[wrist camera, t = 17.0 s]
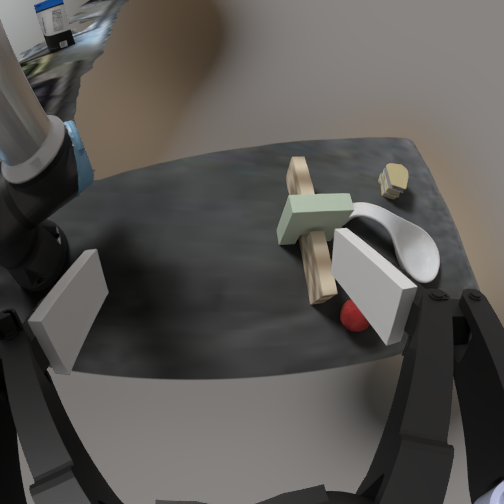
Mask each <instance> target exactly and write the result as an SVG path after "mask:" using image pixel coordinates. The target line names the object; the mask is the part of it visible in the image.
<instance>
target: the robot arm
mask: <svg viewBox="0 0 504 504" xmlns="http://www.w3.org/2000/svg"><path fill="white" fill-rule="evenodd" d="M0 158H1V159H2V167H1V168H2V172H1V173H0V265H1V266H3V267H4V268H6V269H7V270H8V271H9V272H10V274H11V275H12V276H13V278H14V279H15V280H16V282H17V283H18V284H19V285H20V286H22V287H23V288H25V289H27V290H30V291H33V292H38V291H42V290H44V289H46V288H48V287H49V286H51V285H52V284H53V283H54V282H55V281H56V279H57V278H58V277H59V275H60V273H61V271H62V269H63V267H64V264H65V261H66V257H67V240H66V237H65V234H64V232H63V231H62V229H61V228H60V227H58V226H57V225H56V224H55V223H54V222H52V221H50V220H47V218H48V217H49V216H50V215H52V214H53V213H54V212H56V211H57V210H58V209H60V208H61V207H63V206H64V205H65V204H67V203H68V202H69V201H71V200H72V199H74V198H75V197H77V196H79V195H80V193H81V192H82V191H83V190H85V189H86V188H87V187H89V186H90V185H91V184H92V182H93V179H94V173H93V169H92V166H91V164H90V161H89V158H88V156H87V153H86V151H85V148H84V146H83V143H82V140H81V137H80V135H79V133H78V130H77V128H76V126H75V124H74V122H73V121H68V122H64V123H63V122H62V121H61V120H60V119H59V118H58V117H56V116H53V115H46V114H45V112H44V110H43V108H42V107H41V105H40V103H39V101H38V99H37V98H36V96H35V94H34V92H33V90H32V88H31V86H30V84H29V82H28V81H27V79H26V77H25V75H24V73H23V71H22V69H21V66H20V64H19V62H18V60H17V58H16V56H15V54H14V52H13V49H12V47H11V45H10V42H9V40H8V38H7V35H6V33H5V30H4V28H3V25H2V23H1V20H0ZM331 274H332V275H333V276H334V278H335V279H336V280H337V281H338V283H339V284H340V285H341V286H342V288H343V289H344V290H345V292H346V293H347V294H348V295H349V297H350V298H351V299H352V301H353V302H354V303H355V304H356V306H357V307H358V308H359V310H360V311H361V312H362V314H363V315H364V316H365V318H366V319H367V320H368V322H369V323H370V324H371V326H372V327H373V328H374V330H375V331H376V332H377V334H378V335H379V336H380V338H381V339H382V340H383V342H384V343H385V344H386V346H387V345H390V344H394V343H397V342H401V339H402V336H403V333H404V330H405V331H406V333H407V334H408V335H409V337H408V340H407V343H406V345H405V348H404V351H403V353H402V355H403V356H404V358H403V363H402V367H401V372H400V376H399V380H398V384H397V388H396V392H395V395H394V399H393V402H392V406H391V409H390V413H389V416H388V420H387V422H386V425H385V428H384V431H383V434H382V438H381V440H380V443H379V446H378V448H377V451H376V454H375V456H374V459H373V461H372V464H371V466H370V469H369V471H368V473H367V475H366V477H365V478H364V480H363V482H362V483H361V485H360V487H359V488H358V490H357V492H356V494H352V493H347V492H340V491H326V490H325V487H324V485H319V486H315V487H311V488H307V489H302V490H298V491H293V492H288V493H283V494H280V495H278V496H276V497H273V498H270V499H268V500H265V501H262V502H259V503H257V504H443V501H444V498H445V494H446V490H447V486H448V482H449V478H450V473H451V468H452V463H453V457H454V448H453V446H452V445H448V444H447V437H448V429H449V422H450V414H451V402H452V389H453V377H454V381H455V386H456V390H457V395H458V400H459V405H460V411H461V416H462V423H463V430H464V437H465V445H466V455H467V470H468V483H469V492H470V497H471V503H472V504H504V328H503V326H502V324H501V323H500V321H499V319H498V317H497V315H496V313H495V312H494V310H493V309H492V307H491V305H490V304H489V302H488V300H487V298H486V297H485V296H484V295H483V294H482V293H481V292H480V291H478V290H476V289H465V290H463V292H462V295H461V298H460V299H450V297H449V295H448V294H447V293H445V292H443V291H442V290H439V289H434V288H429V289H426V288H425V287H423V286H422V285H421V284H420V283H419V282H418V281H416V280H415V279H414V278H412V276H411V275H409V274H408V273H407V272H406V271H405V270H403V269H402V268H401V267H399V266H397V265H395V264H393V263H390V262H388V261H387V260H386V259H385V258H384V257H382V256H381V255H380V254H379V253H378V252H376V251H375V250H374V249H373V248H371V247H370V246H369V245H368V244H366V243H365V242H364V241H363V240H361V239H360V238H359V237H358V236H356V235H355V234H354V233H353V232H351V231H350V230H349V229H347V228H340V229H335V231H334V244H333V255H332V266H331ZM108 293H109V292H108V289H107V285H106V282H105V278H104V275H103V271H102V267H101V263H100V260H99V256H98V251H97V249H92V250H85V251H84V252H83V253H82V254H81V256H80V257H79V258H78V259H77V260H76V261H75V262H74V263H73V265H72V266H71V267H70V268H69V269H68V270H67V272H66V273H65V274H64V275H63V276H62V277H61V279H60V280H59V281H58V282H57V284H56V285H55V286H54V287H53V288H52V290H51V291H50V292H49V293H48V295H46V296H45V297H44V298H42V299H41V300H40V301H39V303H38V304H37V305H36V307H35V308H34V309H33V311H32V312H31V313H30V315H29V316H28V317H27V319H26V320H25V321H24V323H23V324H22V323H21V321H20V319H19V317H18V315H17V313H16V311H15V309H12V308H11V309H6V310H3V311H1V312H0V504H27V502H26V497H25V493H24V488H23V483H22V477H21V470H20V462H19V454H18V443H17V433H18V436H19V440H20V443H21V446H22V449H23V452H24V455H25V458H26V460H27V463H28V465H29V468H30V471H31V473H32V476H33V478H34V481H35V483H34V484H32V485H30V489H29V490H30V493H31V496H32V498H33V501H34V502H35V504H124V503H122V502H121V500H120V499H119V498H118V497H117V496H116V494H115V493H114V492H113V490H112V489H111V488H110V487H109V485H108V483H107V482H106V481H105V479H104V478H103V476H102V475H101V473H100V472H99V471H98V469H97V467H96V466H95V464H94V463H93V461H92V459H91V458H90V456H89V454H88V453H87V451H86V449H85V448H84V446H83V444H82V442H81V440H80V439H79V437H78V435H77V433H76V431H75V429H74V427H73V425H72V424H71V421H70V419H69V417H68V416H67V413H66V411H65V409H64V407H63V405H62V403H61V400H60V398H59V396H58V393H57V391H56V389H55V386H54V384H53V382H52V379H51V376H50V375H49V373H48V371H47V368H48V366H49V364H50V365H51V367H52V368H53V370H54V372H55V373H56V374H65V375H70V373H71V370H72V368H73V365H74V363H75V361H76V358H77V356H78V354H79V352H80V349H81V347H82V345H83V343H84V341H85V339H86V336H87V334H88V332H89V330H90V328H91V326H92V324H93V322H94V320H95V318H96V316H97V314H98V312H99V310H100V308H101V306H102V304H103V302H104V300H105V298H106V296H107V295H108ZM156 504H206V503H201V502H197V501H165V500H164V501H163V500H156Z"/></svg>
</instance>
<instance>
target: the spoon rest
mask: <svg viewBox="0 0 504 504" xmlns="http://www.w3.org/2000/svg"><path fill="white" fill-rule="evenodd" d="M353 207H354V211H353V213H352V214H351V215H350V216H349V218H348V219H347V220H346V222H345V223H344V224H343V225H345V224H346V223H347V222H348V221H350V220H351V219H352V218H355V217H366V218H369V219H372V220H374V221H376V222H378V223H380V224H381V225H382V226H384V227H385V228H386V230H387V231H388V232H389V234H390V236H391V238H392V241H393V245H394V249H395V253H396V257H397V260H398V263H399V265H400V267H401V268H402V269H403V270H405V271H406V272H407V273H408V274H409V275H411V276H412V278H414V279H415V280H416V281H418V282H420V283H428V282H431V281H432V280H434V279H435V277H436V276H437V273H438V270H439V266H440V257H439V252H438V249H437V246H436V244H435V242H434V241H433V239H432V238H431V237H430V236H429V234H428V233H427V232H425V231H424V230H423V229H422V228H420V227H418V226H417V225H415V224H413V223H411V222H409V221H406V220H404V219H402V218H400V217H399V216H397V215H395V214H393V213H391V212H389V211H388V210H386V209H384V208H382V207H379V206H376V205H373V204H369V203H363V202H358V203H353Z"/></svg>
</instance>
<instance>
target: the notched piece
mask: <svg viewBox="0 0 504 504" xmlns="http://www.w3.org/2000/svg"><path fill="white" fill-rule="evenodd" d="M353 211H354V207H353V204H352V200H351V197H350V194H304V195H289V196H288V199H287V202H286V205H285V208H284V210H283V213H282V216H281V219H280V222H279V225H278V228H277V236H278V242H279V245H288V244H295V243H296V241H297V239H298V238H299V236H300V235H303V234H309V233H310V232H313V231H324V233H325V237H326V241H331V240H332V238H333V237H334V231H335V229H340V228H341V227H342V226H343V224H344V223H345V222H346V220H347V219H348V218H349V216H350V215H351V214H352V213H353Z"/></svg>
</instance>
